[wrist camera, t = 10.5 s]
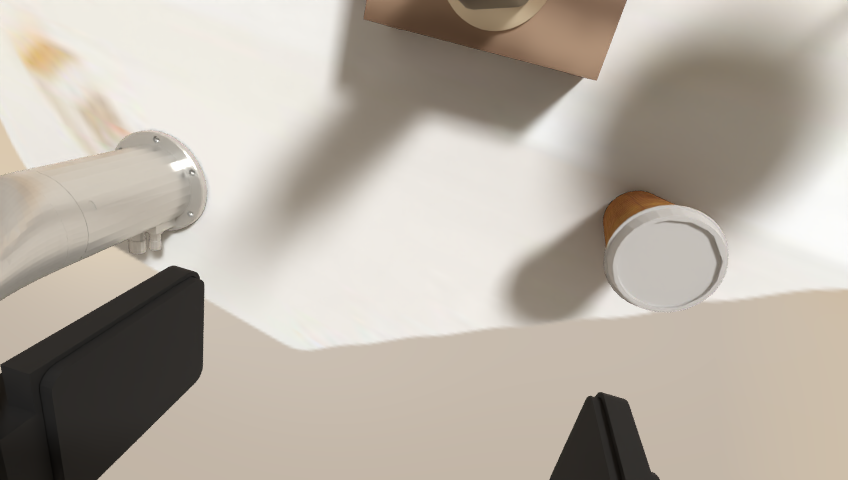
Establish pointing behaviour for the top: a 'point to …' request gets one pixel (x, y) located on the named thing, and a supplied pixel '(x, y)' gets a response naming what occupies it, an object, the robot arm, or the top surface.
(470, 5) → the wine bottle
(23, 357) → the robot arm
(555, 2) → the brown rectangular block
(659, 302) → the disposable coffee cup
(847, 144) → the top surface
